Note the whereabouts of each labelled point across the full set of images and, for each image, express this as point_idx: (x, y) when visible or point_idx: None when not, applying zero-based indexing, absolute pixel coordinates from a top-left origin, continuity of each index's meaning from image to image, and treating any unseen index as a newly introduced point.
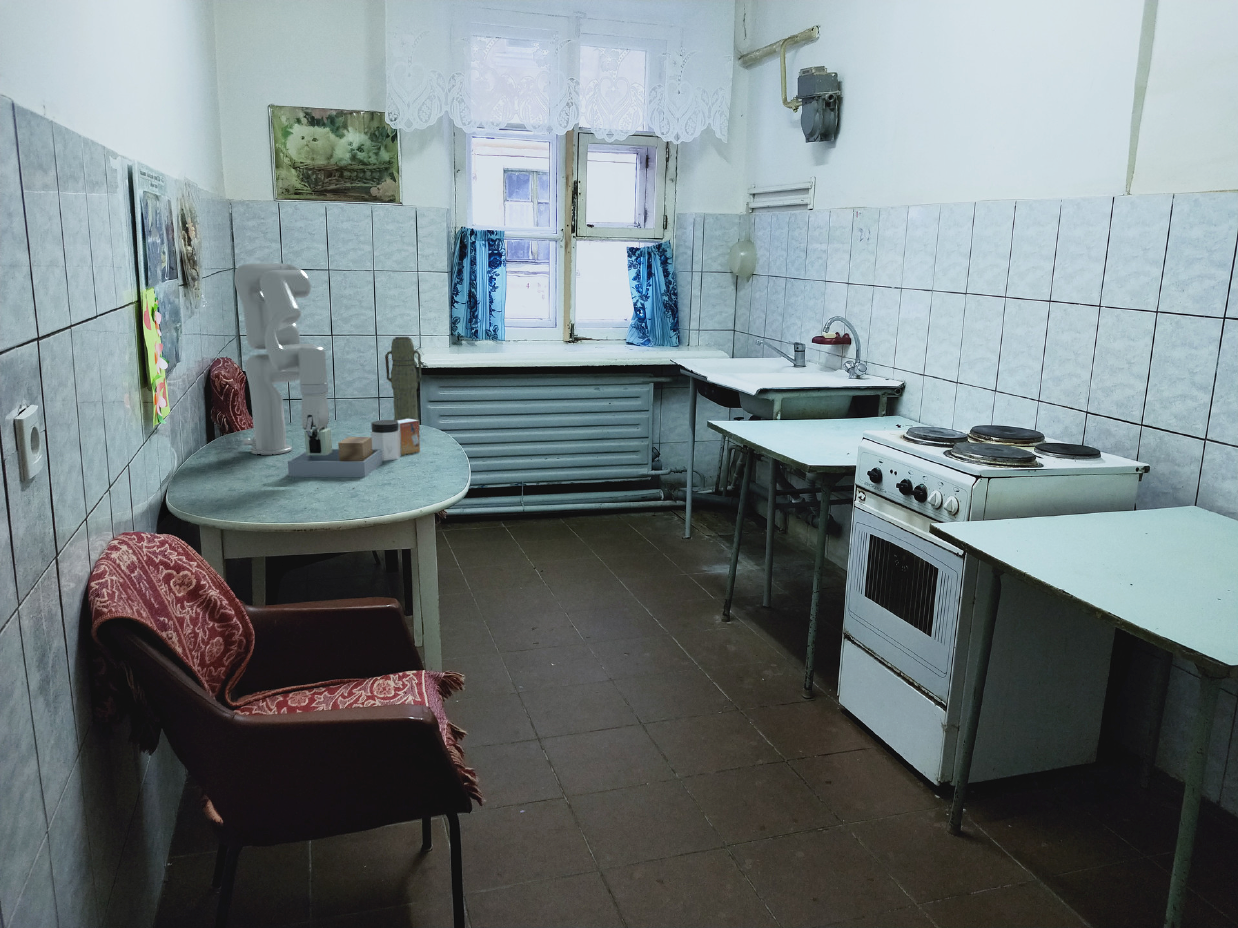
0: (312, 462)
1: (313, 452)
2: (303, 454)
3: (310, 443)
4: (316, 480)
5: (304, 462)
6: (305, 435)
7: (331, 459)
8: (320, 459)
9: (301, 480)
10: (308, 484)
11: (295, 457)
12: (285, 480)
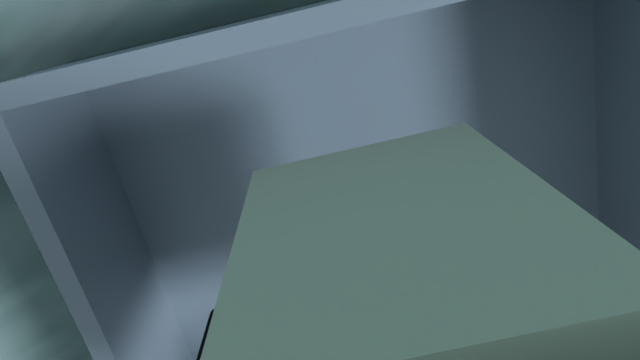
0: (88, 337)
1: None
2: (423, 9)
3: None
4: None
5: (56, 267)
6: (216, 346)
7: (619, 160)
8: (618, 54)
9: None
10: (3, 297)
11: (178, 57)
12: (15, 62)
